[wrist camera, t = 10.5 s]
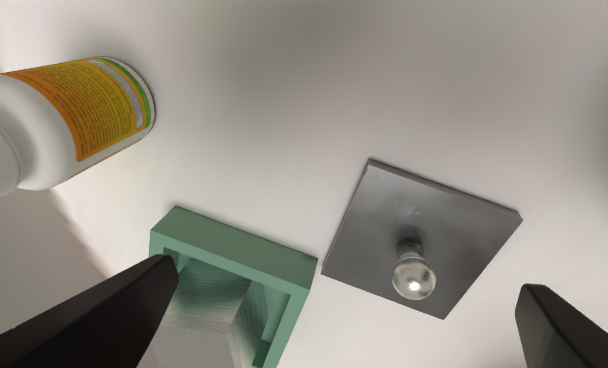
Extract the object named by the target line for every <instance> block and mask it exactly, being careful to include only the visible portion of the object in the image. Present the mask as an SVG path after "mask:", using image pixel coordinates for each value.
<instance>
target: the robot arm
mask: <svg viewBox="0 0 608 368" xmlns="http://www.w3.org/2000/svg"><path fill="white" fill-rule="evenodd" d="M178 283H179V274H178V271H177V268H176V265H175V262H174V259H173V257H172V256H171V255H169V254H155V255H153V256H151V257H149V258H147V259H145V260H143V261H141V262H139V263H138V264H136V265H134V266H132V267H130V268H128V269H126V270H124V271H122V272H120V273H118V274H116V275H114V276H112V277H110V278H109V279H107V280H105V281H103V282H101V283H99V284H97V285H95V286H93V287H91V288H89V289H88V290H85V291H83V292H81V293H80V294H78V295H76V296H74V297H72V298H70V299H68V300H66V301H64V302H62V303H60V304H58V305H56V306H54V307H53V308H51V309H49V310H47V311H45V312H43V313H41V314H39V315H37V316H35V317H33V318H31V319H29V320H28V321H25V322H23V323H22V324H20V325H18V326H16V327H15V328H12V329H10V330H8V331H6V332H4V333H2V334H0V368H136V367H137V366H138V364H139V362H140V360H141V359H142V357H143V355H144V353H145V352H146V350H147V348H148V346H149V345H150V343H151V341H152V339H153V337H154V336H155V334H156V332H157V330H158V328H159V326H160V323H161V321H162V319H163V317H164V315H165V312H166V310H167V308H168V306H169V304H170V302H171V299H172V297H173V295H174V293H175V291H176V288H177V286H178ZM515 319H516V323H517V327H518V331H519V335H520V340H521V344H522V348H523V352H524V356H525V360H526V364H527V368H608V333H607V332H606V331H604V330H603V329H602V328H600V327H599V326H598V325H596V324H595V323H594V322H593V321H591V320H590V319H589V318H587V317H586V316H585V315H583V314H582V313H581V312H580V311H578V310H577V309H576V308H574V307H573V306H572V305H571V304H569V303H568V302H567V301H565V300H564V299H563V298H561V297H560V296H559V295H558V294H556V293H555V292H554V291H552V290H551V289H550V288H548V287H547V286H545V285H541V284H529V283H526V284H524V285H523V286H522V287H521V290H520V294H519V298H518V301H517V305H516V309H515Z"/></svg>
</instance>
